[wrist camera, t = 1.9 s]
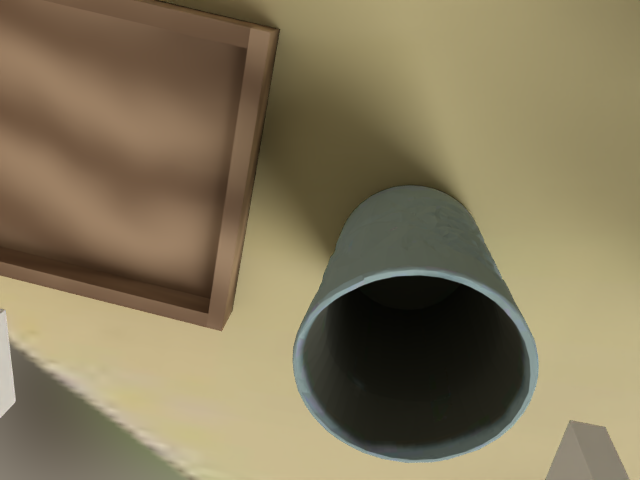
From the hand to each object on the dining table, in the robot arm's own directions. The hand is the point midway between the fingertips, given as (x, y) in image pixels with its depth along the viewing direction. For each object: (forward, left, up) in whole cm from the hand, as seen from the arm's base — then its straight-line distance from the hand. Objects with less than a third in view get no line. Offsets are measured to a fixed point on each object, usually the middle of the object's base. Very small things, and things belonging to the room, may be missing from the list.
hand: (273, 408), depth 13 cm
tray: (+3, -14, -21) cm, 26 cm away
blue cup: (+5, +5, -22) cm, 23 cm away
